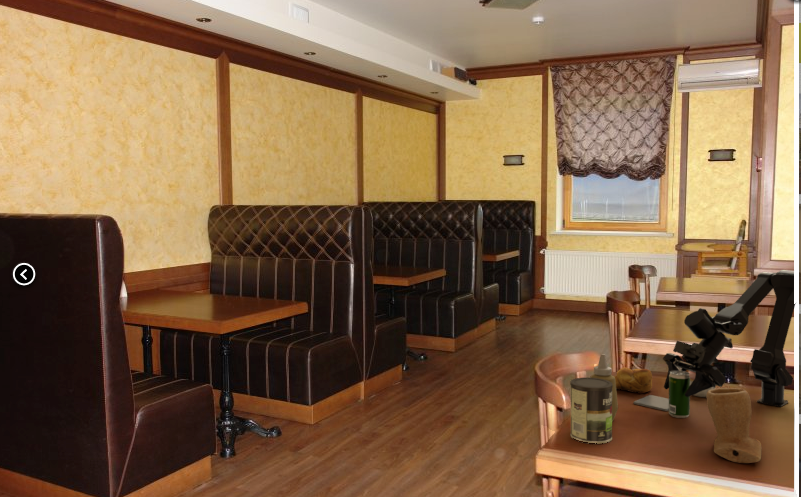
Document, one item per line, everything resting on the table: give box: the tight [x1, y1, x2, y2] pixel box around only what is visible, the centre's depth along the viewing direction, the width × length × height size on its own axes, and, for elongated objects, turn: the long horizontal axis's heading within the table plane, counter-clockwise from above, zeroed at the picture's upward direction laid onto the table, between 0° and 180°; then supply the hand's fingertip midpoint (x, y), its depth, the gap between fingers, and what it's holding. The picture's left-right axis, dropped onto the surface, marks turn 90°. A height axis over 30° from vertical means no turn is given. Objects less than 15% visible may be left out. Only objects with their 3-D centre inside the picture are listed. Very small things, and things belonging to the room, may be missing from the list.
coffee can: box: [569, 377, 613, 445], centre depth 166 cm, size 10×10×14 cm
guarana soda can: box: [668, 371, 691, 419], centre depth 182 cm, size 5×5×12 cm
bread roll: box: [613, 366, 653, 394], centre depth 208 cm, size 13×10×8 cm
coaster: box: [633, 394, 669, 412], centre depth 193 cm, size 10×10×1 cm
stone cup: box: [705, 387, 762, 464], centre depth 154 cm, size 15×12×15 cm
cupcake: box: [687, 370, 717, 398], centre depth 201 cm, size 9×9×10 cm
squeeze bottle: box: [589, 353, 619, 422], centre depth 179 cm, size 8×8×18 cm
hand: (675, 392), depth 181 cm, fingers open, 8 cm apart
